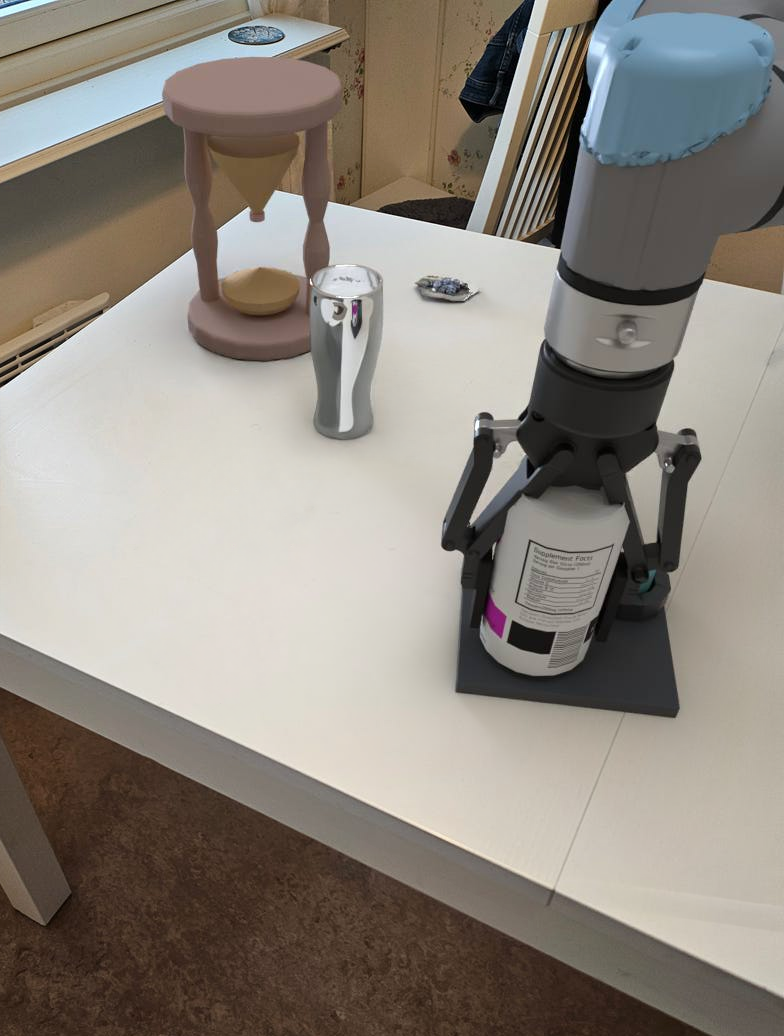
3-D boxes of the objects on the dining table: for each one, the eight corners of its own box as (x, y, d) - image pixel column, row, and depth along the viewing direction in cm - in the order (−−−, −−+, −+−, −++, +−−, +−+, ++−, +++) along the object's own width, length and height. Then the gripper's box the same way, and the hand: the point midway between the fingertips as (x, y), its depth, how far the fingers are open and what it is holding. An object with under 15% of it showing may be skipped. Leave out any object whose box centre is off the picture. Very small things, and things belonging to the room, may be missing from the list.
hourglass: (158, 337, 104) (124, 94, 85) (239, 276, 114) (224, 47, 96) (290, 376, 98) (284, 123, 79) (363, 308, 108) (373, 70, 90)
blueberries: (408, 281, 112) (410, 266, 111) (470, 275, 113) (472, 260, 112) (423, 307, 108) (424, 291, 107) (487, 300, 109) (489, 285, 107)
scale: (656, 582, 75) (666, 555, 73) (676, 718, 66) (688, 692, 63) (463, 563, 77) (467, 536, 75) (455, 693, 68) (459, 666, 65)
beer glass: (389, 417, 92) (399, 274, 81) (353, 450, 88) (359, 306, 77) (333, 396, 95) (335, 256, 84) (295, 428, 91) (292, 285, 80)
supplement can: (456, 639, 70) (482, 483, 59) (524, 589, 73) (561, 434, 62) (540, 700, 65) (585, 545, 54) (607, 644, 69) (663, 488, 58)
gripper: (416, 367, 50) (391, 642, 66) (821, 397, 47) (689, 676, 64) (425, 302, 55) (400, 573, 71) (792, 327, 52) (677, 602, 69)
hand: (536, 622), depth 68 cm, fingers open, 8 cm apart
